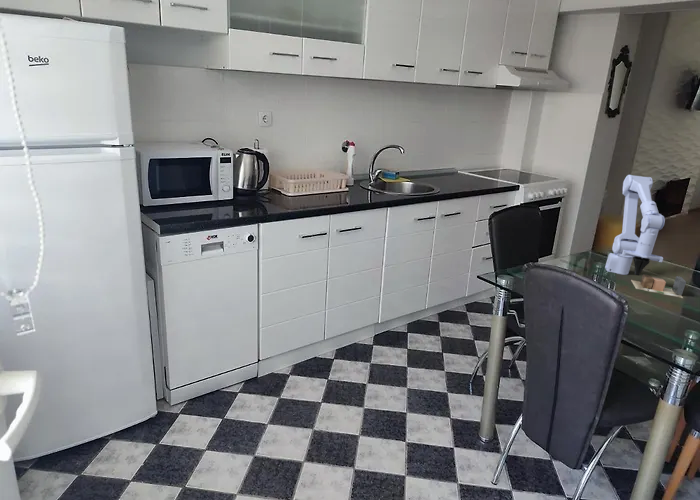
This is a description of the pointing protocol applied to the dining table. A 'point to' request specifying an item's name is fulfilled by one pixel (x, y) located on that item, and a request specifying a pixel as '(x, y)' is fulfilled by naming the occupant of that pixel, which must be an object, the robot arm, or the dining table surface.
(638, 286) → the gauge board
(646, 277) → the brown box with peg
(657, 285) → the peach matte cube
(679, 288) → the grey flat block
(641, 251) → the robot arm
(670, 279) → the dining table surface
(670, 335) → the dining table surface
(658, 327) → the dining table surface
